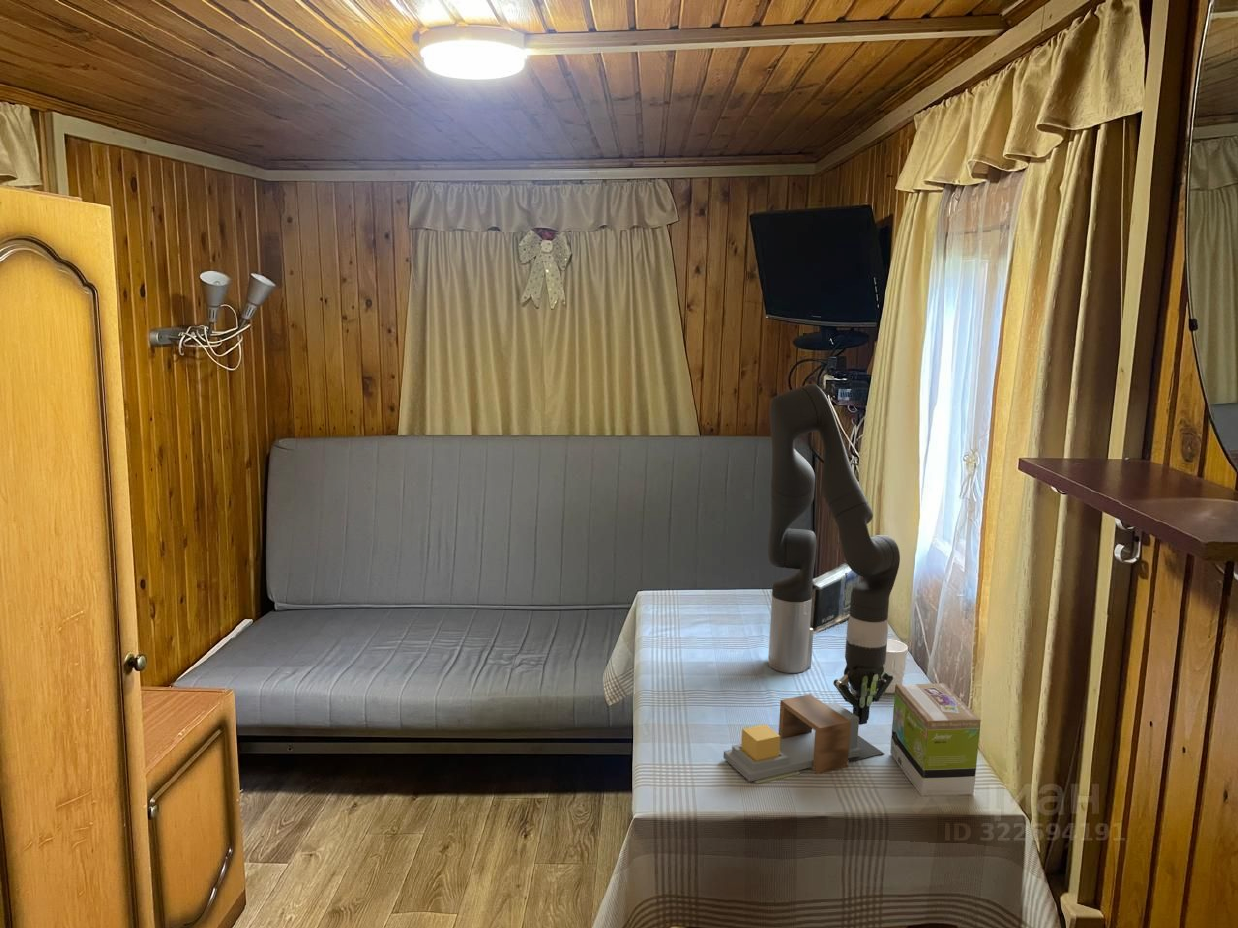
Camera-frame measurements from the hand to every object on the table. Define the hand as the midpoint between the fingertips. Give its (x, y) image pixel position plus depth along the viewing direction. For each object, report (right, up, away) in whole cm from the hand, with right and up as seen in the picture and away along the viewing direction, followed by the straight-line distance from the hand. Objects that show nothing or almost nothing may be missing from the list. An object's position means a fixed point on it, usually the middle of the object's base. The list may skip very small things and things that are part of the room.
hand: (860, 722), depth 172 cm
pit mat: (-2, -4, 0) cm, 5 cm away
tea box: (+10, -7, -10) cm, 16 cm away
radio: (+11, +7, +67) cm, 69 cm away
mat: (-20, -6, -8) cm, 23 cm away
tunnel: (-10, -5, -4) cm, 12 cm away
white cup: (+13, 0, +27) cm, 30 cm away
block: (-21, -4, -9) cm, 23 cm away
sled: (-14, -5, -6) cm, 16 cm away
